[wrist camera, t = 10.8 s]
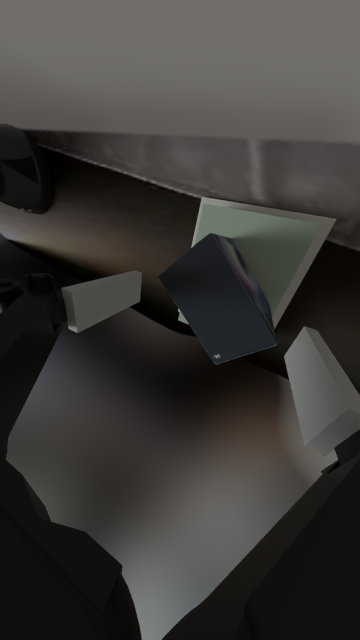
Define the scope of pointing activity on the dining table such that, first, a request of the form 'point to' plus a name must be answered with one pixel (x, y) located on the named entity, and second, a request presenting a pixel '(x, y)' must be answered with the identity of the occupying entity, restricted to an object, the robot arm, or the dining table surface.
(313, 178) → the dining table surface
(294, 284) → the baseplate
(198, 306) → the small box
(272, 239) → the base brick
